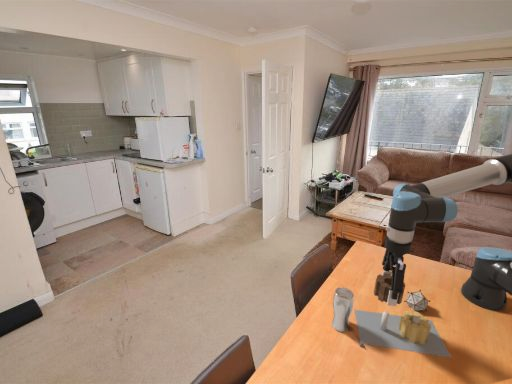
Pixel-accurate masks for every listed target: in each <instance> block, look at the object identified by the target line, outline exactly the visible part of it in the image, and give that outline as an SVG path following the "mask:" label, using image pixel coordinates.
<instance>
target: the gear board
mask: <svg viewBox="0 0 512 384" xmlns="http://www.w3.org/2000/svg"><path fill="white" fill-rule="evenodd" d="M354 315H355V320H356V326H357V330H358V335H359V336H358V342H359V347H362V348H366V346H365V345H370V346H376V347H382V348H388V349H394V350H395V349H396V350H401V351H407V352H412V353H413V352H414V353H419V354H420V353H421V354H427V355H433V356H437V357H438V356H439V357H444V358H452V355H451V354H450V352H449V351H448V349H447V347H446V345H445V343H444V341H443V339H442V337H441V336H440V334H439V332H438V330H437V328H436V327H435V325H434V323H433V321H432V319H428V320H429V321H428V323H429V324H431V329H430V333H429V336H428V340H425V344H420V343H419V342H414V343H412V342H410V341H409V339H408V338H407V337H403V336H402V335H401V334H400V332H401V330H399V325H400V320H401V315H396V314H391V313H389V312H387V311H382V313H380V312H373V311H368V310H361V309H354ZM419 320H420V318H419V317H418V316H413V320H412V323H415V324H417V325H418V324H419Z"/></svg>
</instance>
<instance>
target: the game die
mask: <svg viewBox="0 0 512 384" xmlns="http://www.w3.org/2000/svg"><path fill="white" fill-rule="evenodd" d="M403 302H404V303H406V304H407V305H408V306H409V307H410V309H412V310H414V311H416V312H418V311H420V312H421V311H425V312H428V309H427V307H428V304H429V302H431V300H429V299H428V298H427V297H426V296H425V295H424V294H423V293H422V289H421V288H420V289H419V291H418V290H417V291H414V292H409V291H407V297H406V299H405V300H403Z"/></svg>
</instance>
